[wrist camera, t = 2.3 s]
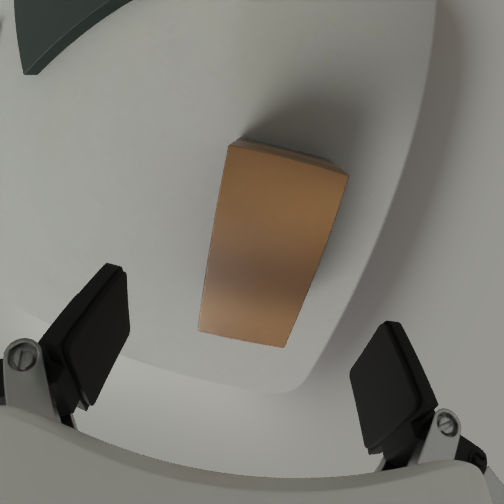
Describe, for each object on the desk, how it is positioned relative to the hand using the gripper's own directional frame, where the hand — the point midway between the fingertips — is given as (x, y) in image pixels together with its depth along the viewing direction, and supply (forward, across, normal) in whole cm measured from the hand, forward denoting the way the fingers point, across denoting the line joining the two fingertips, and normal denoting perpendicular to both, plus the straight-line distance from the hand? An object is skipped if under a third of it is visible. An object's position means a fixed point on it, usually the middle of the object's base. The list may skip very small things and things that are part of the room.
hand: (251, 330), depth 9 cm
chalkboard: (+8, +20, -22) cm, 31 cm away
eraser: (+8, 0, 0) cm, 8 cm away
